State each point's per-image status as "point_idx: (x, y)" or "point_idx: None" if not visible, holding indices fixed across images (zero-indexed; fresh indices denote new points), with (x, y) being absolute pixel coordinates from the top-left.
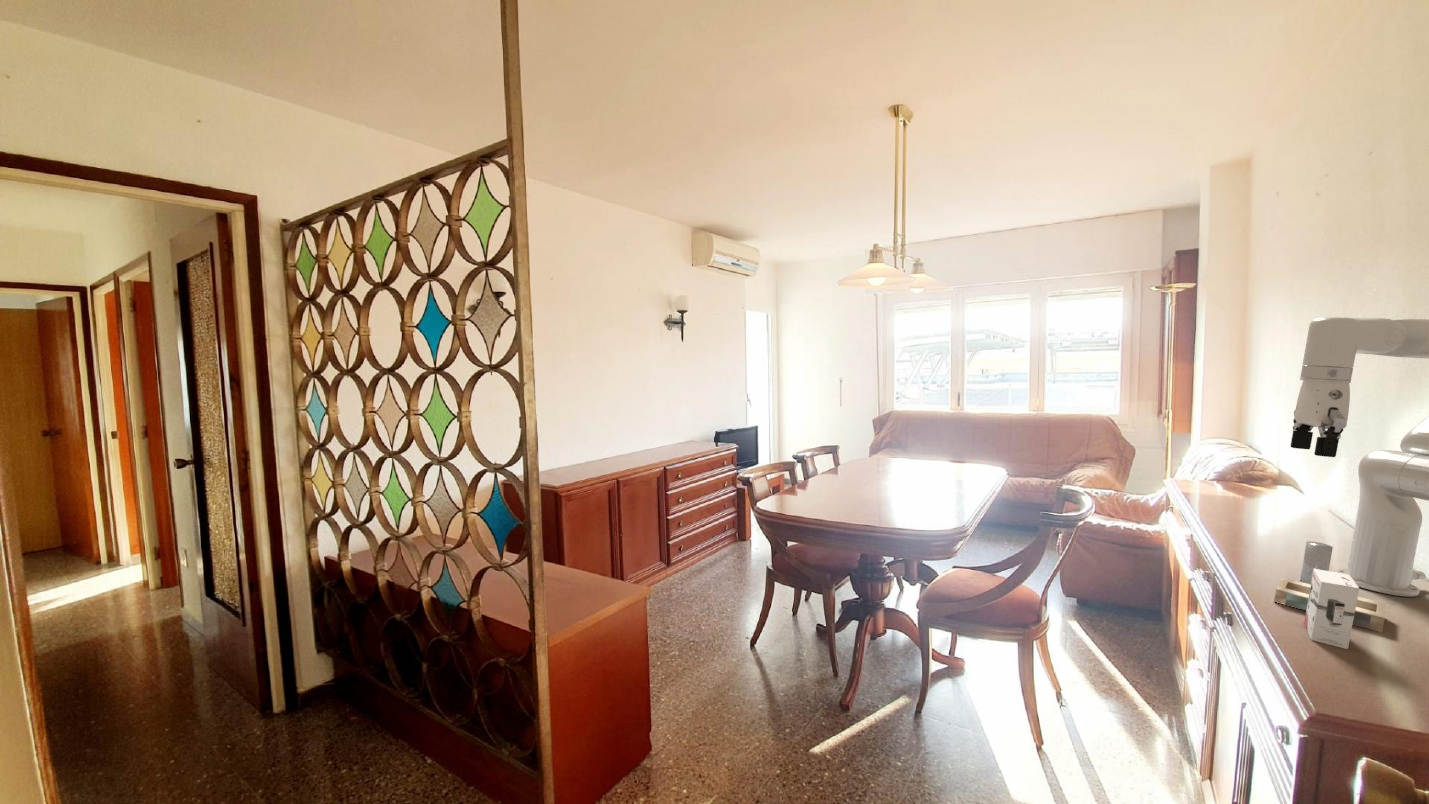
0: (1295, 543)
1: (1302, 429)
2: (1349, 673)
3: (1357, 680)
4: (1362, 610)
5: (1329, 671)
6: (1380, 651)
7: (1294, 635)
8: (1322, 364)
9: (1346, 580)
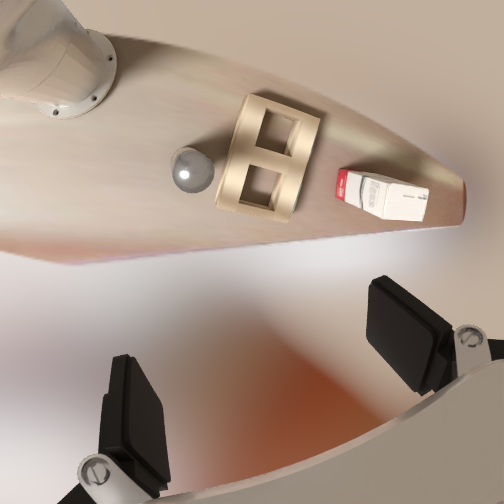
0: None
1: (152, 486)
2: None
3: (427, 188)
4: (307, 136)
5: None
6: (367, 144)
7: None
8: None
9: (407, 192)
